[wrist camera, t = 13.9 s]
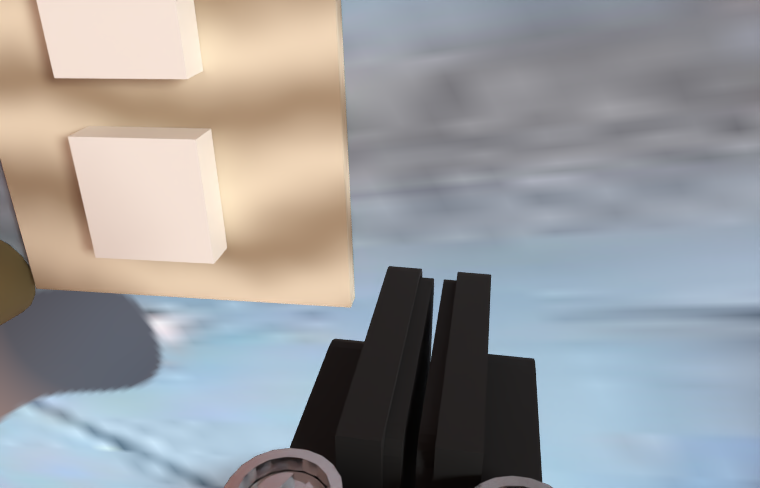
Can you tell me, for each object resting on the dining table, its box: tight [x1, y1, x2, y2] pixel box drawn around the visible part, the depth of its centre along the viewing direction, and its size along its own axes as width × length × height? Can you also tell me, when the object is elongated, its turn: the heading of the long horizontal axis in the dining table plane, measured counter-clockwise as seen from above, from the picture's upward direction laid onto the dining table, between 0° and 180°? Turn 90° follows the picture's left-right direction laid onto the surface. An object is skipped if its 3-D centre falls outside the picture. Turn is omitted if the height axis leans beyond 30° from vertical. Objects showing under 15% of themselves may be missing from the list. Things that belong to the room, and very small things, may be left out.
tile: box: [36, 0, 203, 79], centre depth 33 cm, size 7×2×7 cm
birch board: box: [0, 0, 355, 307], centre depth 36 cm, size 24×20×1 cm
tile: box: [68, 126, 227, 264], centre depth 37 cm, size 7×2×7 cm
